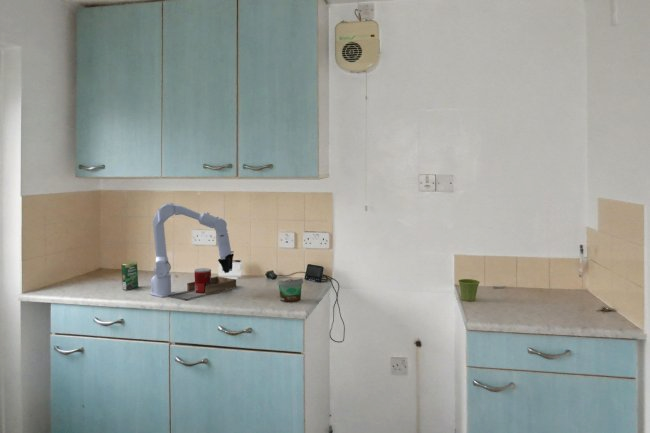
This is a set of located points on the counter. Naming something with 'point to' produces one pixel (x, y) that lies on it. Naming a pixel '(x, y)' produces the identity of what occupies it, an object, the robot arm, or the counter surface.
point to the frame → (185, 298)
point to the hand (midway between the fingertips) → (228, 270)
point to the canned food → (202, 279)
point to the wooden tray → (215, 285)
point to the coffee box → (129, 276)
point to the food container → (290, 290)
